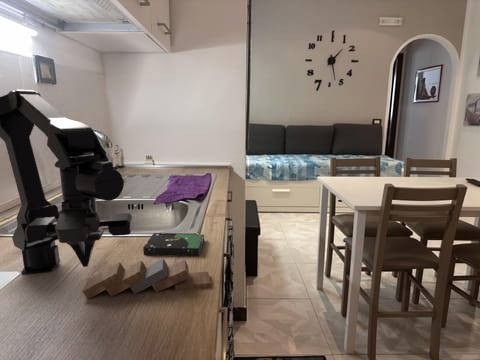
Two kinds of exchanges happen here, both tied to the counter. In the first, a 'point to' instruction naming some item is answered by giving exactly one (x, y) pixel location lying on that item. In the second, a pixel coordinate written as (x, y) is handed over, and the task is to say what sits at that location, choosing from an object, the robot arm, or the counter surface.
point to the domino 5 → (194, 281)
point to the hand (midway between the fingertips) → (86, 265)
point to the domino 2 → (129, 278)
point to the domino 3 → (151, 276)
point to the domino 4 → (173, 276)
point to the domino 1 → (103, 280)
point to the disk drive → (174, 244)
